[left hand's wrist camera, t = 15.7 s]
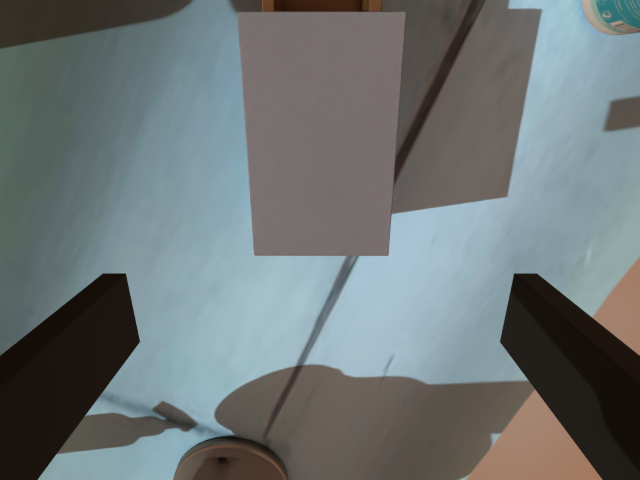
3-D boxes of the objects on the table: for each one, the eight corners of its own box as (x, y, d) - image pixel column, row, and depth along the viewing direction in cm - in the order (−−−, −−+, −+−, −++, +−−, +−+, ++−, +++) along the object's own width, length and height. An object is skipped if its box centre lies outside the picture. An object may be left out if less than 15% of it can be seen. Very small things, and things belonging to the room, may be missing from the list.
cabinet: (261, 36, 32) (237, 11, 22) (381, 36, 32) (406, 11, 22) (270, 217, 37) (254, 255, 28) (371, 217, 37) (388, 256, 28)
